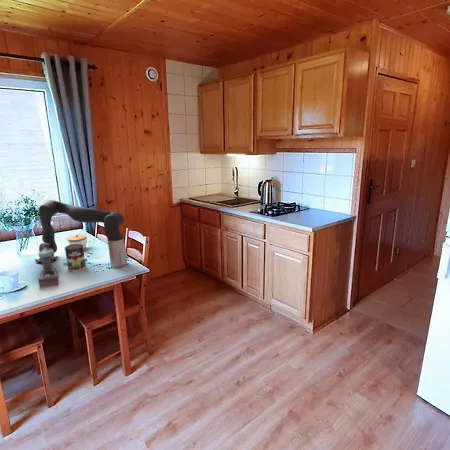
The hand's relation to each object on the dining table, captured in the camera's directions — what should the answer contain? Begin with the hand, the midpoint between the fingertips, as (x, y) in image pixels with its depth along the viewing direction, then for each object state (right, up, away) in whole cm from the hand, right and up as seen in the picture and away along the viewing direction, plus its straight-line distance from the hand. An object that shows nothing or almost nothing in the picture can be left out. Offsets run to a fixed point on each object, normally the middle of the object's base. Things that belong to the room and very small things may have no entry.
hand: (46, 264), depth 185 cm
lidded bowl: (-3, +5, +47) cm, 48 cm away
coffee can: (+12, -4, +13) cm, 18 cm away
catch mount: (+3, -8, -3) cm, 9 cm away
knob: (+2, -6, 0) cm, 6 cm away
